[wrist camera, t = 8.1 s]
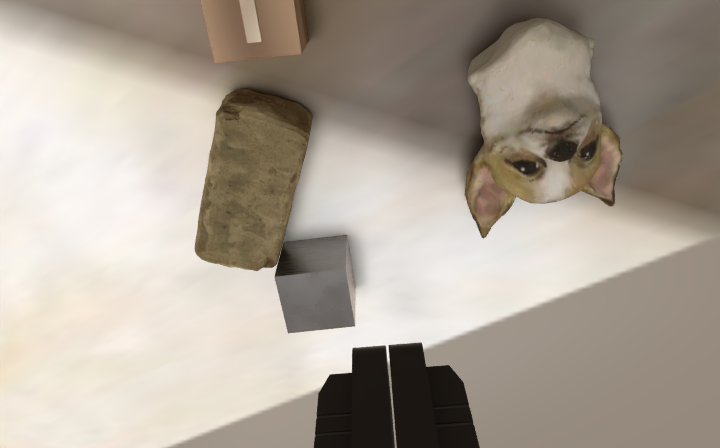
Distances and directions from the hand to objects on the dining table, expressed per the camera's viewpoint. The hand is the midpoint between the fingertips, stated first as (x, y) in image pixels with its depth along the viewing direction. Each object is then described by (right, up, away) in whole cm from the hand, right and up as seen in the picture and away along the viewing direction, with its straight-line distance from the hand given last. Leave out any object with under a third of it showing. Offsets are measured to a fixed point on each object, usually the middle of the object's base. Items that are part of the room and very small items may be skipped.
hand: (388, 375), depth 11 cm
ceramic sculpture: (+11, +11, +25) cm, 30 cm away
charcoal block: (-4, 0, +31) cm, 31 cm away
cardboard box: (-7, +17, +22) cm, 28 cm away
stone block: (-8, +7, +27) cm, 29 cm away
